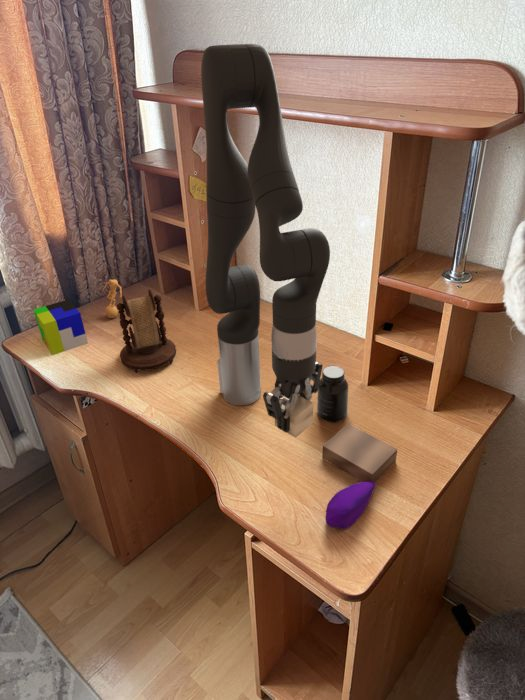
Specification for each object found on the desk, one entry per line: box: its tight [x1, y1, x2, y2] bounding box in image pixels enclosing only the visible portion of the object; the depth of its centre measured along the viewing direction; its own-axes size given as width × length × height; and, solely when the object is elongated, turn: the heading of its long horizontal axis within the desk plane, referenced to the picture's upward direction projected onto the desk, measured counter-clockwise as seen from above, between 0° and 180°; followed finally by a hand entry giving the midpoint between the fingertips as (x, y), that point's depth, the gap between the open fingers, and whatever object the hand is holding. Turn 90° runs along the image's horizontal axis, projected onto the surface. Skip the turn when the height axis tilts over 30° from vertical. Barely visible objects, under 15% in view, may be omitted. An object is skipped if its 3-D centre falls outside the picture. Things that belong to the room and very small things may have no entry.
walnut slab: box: [321, 423, 398, 484], centre depth 111 cm, size 12×9×4 cm
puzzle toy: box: [33, 298, 89, 356], centre depth 152 cm, size 10×10×10 cm
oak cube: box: [274, 395, 314, 438], centre depth 99 cm, size 5×5×5 cm
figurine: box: [102, 279, 123, 319], centre depth 162 cm, size 8×6×12 cm
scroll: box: [116, 288, 177, 374], centre depth 140 cm, size 15×15×20 cm
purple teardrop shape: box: [325, 481, 376, 530], centre depth 100 cm, size 5×5×15 cm
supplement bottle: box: [316, 365, 349, 423], centre depth 121 cm, size 7×7×12 cm
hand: (293, 421), depth 100 cm, fingers closed on oak cube, 5 cm apart
